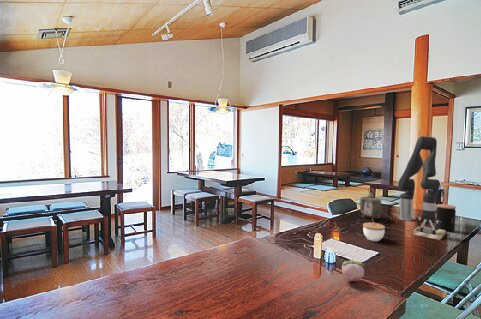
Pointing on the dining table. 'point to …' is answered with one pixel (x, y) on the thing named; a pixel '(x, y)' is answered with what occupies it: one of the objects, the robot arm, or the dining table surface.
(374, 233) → the lidded bowl
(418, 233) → the tray
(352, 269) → the decorative fruit
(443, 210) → the coffee jar
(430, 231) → the gray cube
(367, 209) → the tabletop clock
